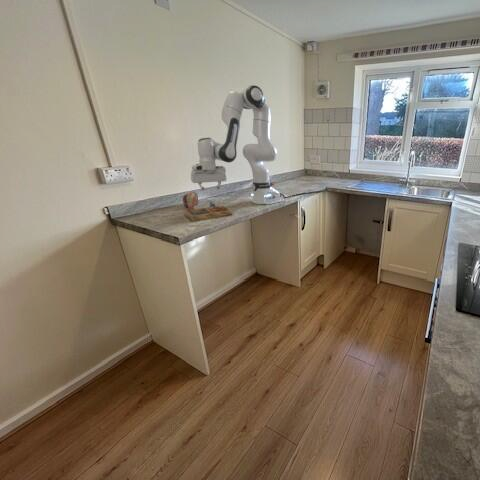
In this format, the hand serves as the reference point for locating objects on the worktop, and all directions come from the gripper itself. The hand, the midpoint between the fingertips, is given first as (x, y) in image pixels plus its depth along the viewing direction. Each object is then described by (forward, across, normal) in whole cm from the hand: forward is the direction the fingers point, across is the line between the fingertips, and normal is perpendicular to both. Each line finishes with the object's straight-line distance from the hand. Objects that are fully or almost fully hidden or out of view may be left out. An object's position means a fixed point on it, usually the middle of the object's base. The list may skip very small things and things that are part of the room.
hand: (210, 189), depth 161 cm
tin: (+12, +9, -13) cm, 20 cm away
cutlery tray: (+12, +6, +14) cm, 20 cm away
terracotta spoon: (+12, +12, 0) cm, 18 cm away
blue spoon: (+12, -1, 0) cm, 12 cm away
